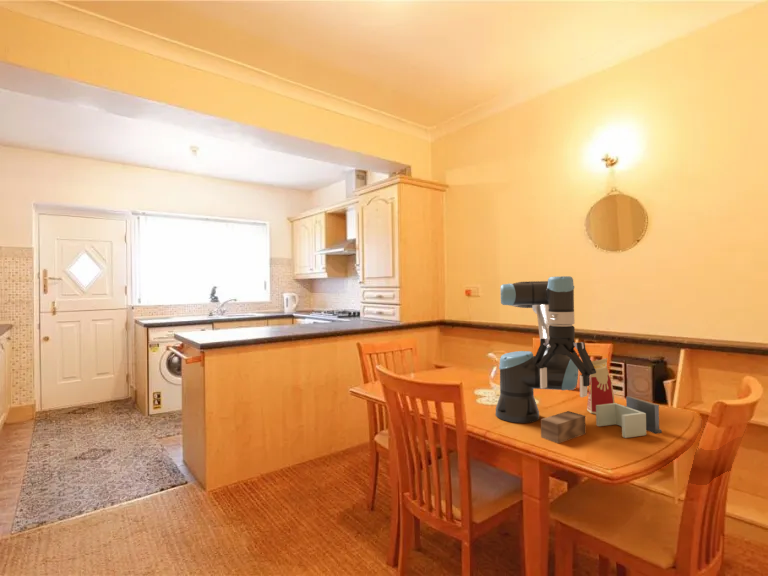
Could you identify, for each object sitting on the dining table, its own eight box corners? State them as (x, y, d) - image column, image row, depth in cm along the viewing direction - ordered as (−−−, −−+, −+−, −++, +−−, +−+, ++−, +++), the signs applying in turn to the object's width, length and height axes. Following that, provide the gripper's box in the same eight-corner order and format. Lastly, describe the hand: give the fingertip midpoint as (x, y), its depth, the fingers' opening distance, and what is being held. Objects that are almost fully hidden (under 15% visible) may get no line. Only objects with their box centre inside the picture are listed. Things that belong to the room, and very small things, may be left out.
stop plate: (655, 433, 128) (654, 405, 128) (626, 422, 139) (626, 396, 139) (661, 432, 129) (661, 404, 129) (632, 421, 140) (632, 395, 140)
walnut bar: (558, 444, 123) (557, 424, 122) (541, 438, 128) (540, 419, 128) (585, 434, 130) (585, 415, 130) (568, 429, 135) (568, 411, 135)
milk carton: (613, 408, 154) (612, 356, 154) (615, 416, 146) (614, 360, 146) (586, 406, 158) (585, 355, 158) (587, 413, 150) (586, 359, 149)
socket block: (625, 437, 125) (624, 415, 125) (596, 425, 137) (595, 405, 137) (646, 434, 127) (645, 413, 127) (615, 422, 139) (615, 402, 138)
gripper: (520, 323, 137) (522, 386, 137) (594, 328, 116) (595, 402, 116) (534, 321, 141) (535, 382, 141) (607, 326, 120) (609, 398, 120)
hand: (562, 392), depth 128 cm, fingers open, 13 cm apart
